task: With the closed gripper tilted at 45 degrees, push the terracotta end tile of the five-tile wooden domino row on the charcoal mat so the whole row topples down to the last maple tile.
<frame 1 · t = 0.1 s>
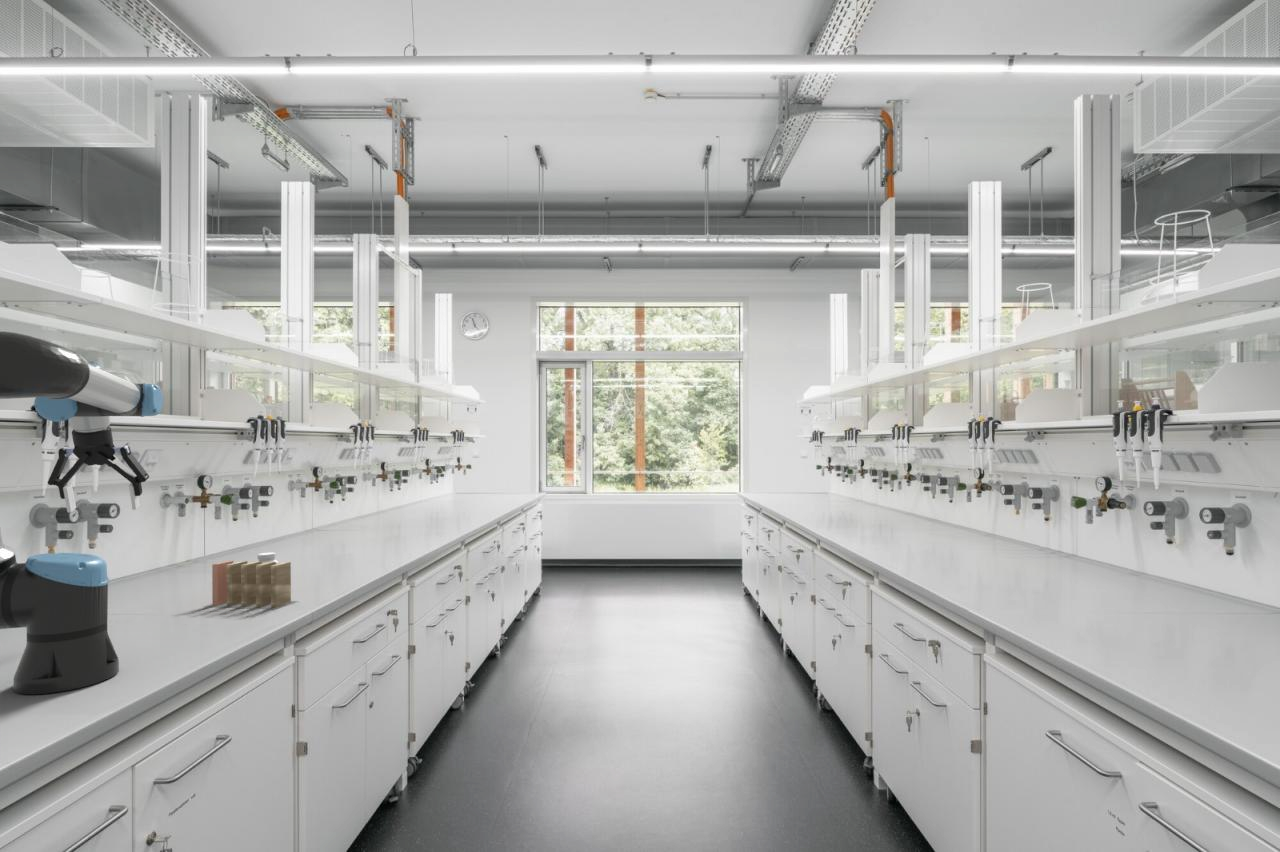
hand: (104, 508, 172), 28 cm above the counter, tool tilted 20°, fingers open, 13 cm apart
domino 3: (251, 603, 186), resting on mat
domino 4: (266, 604, 185), resting on mat
domino 1: (223, 602, 188), resting on mat
pill bottle: (267, 591, 204), on the counter
domino 5: (281, 605, 184), resting on mat
domino 2: (237, 603, 187), resting on mat
mat: (251, 605, 186), on the counter
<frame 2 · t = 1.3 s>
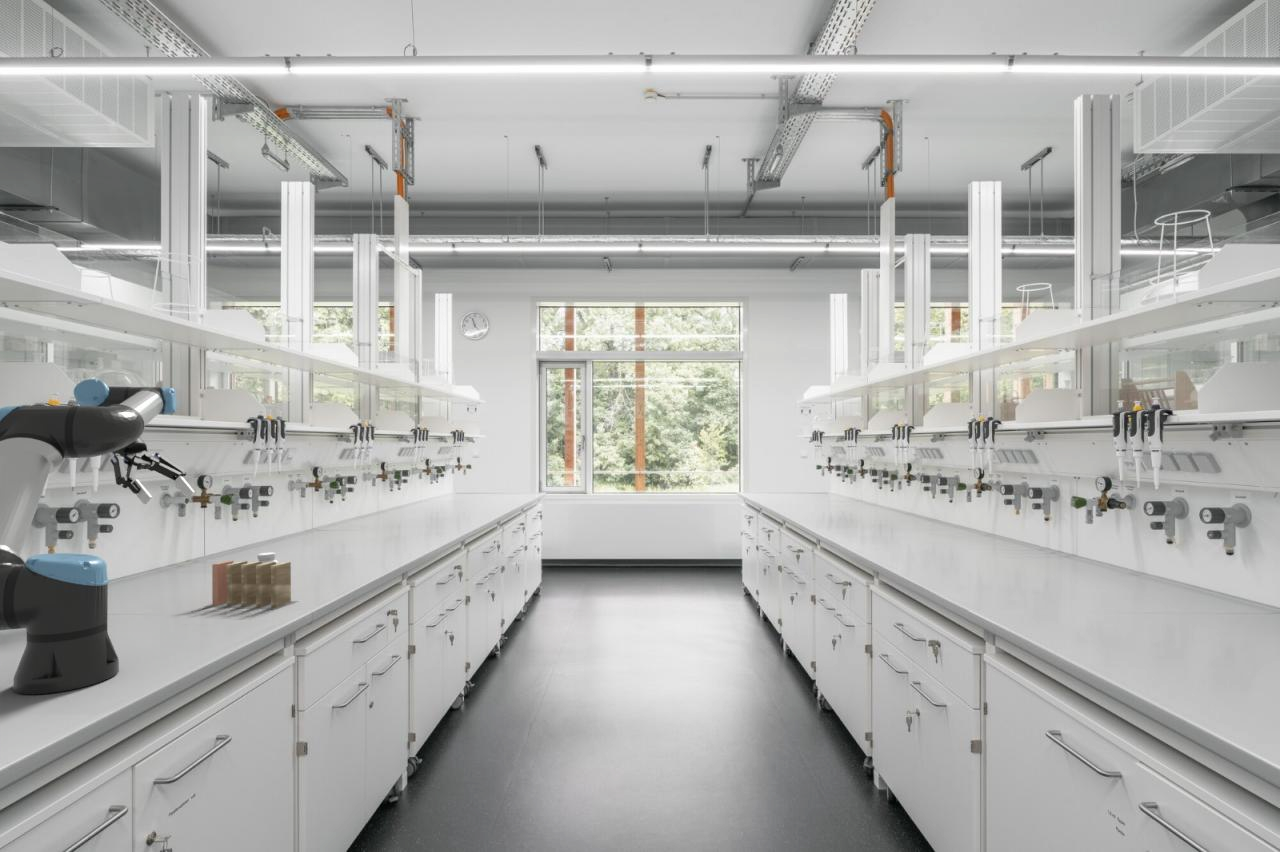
hand: (170, 498, 189), 29 cm above the counter, tool tilted 45°, fingers open, 13 cm apart
nothing on the counter moved.
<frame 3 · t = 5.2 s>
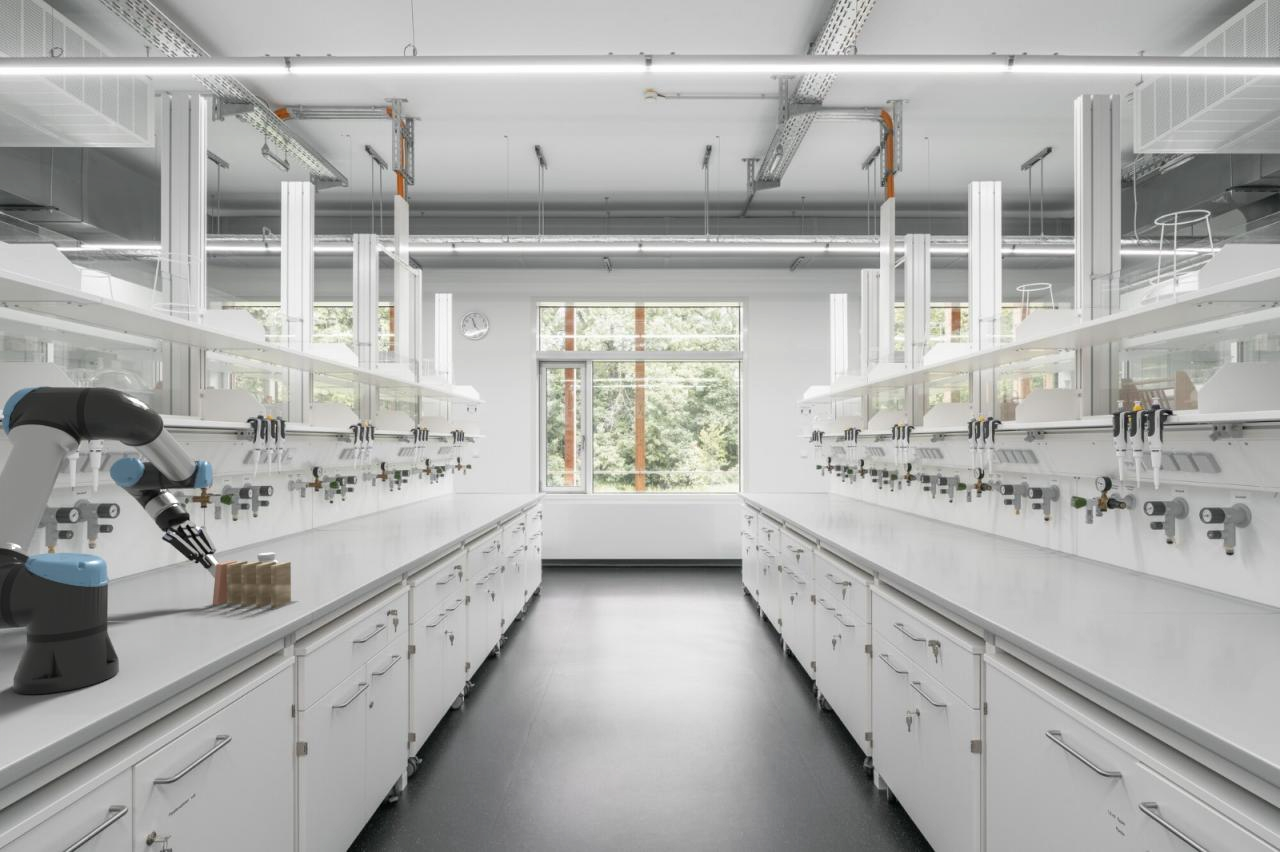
hand: (220, 574, 188), 8 cm above the counter, tool tilted 45°, fingers closed
domino 1: (223, 602, 188), resting on mat, tilted 7°
everything else where it was.
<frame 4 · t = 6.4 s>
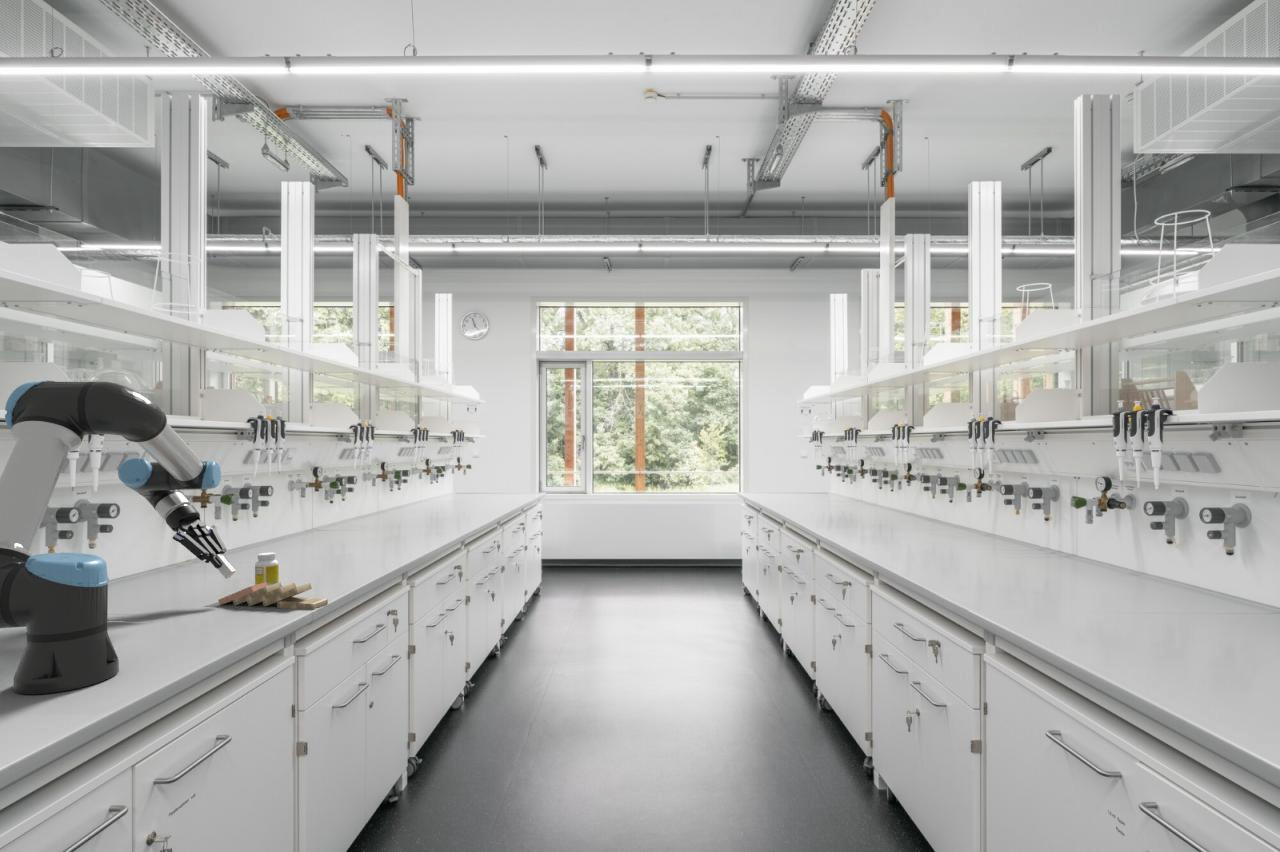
hand: (230, 574, 187), 8 cm above the counter, tool tilted 45°, fingers closed
domino 3: (255, 601, 186), point 1 cm above the counter, tilted 69°, touching domino 2, domino 4, mat
domino 4: (270, 601, 185), point 1 cm above the counter, tilted 69°, touching domino 3, domino 5
domino 1: (227, 600, 188), point 1 cm above the counter, tilted 69°, touching domino 2, mat
domino 5: (284, 602, 184), point 1 cm above the counter, tilted 92°, touching domino 4, mat
domino 2: (241, 600, 187), point 1 cm above the counter, tilted 69°, touching domino 1, domino 3
everything else where it was.
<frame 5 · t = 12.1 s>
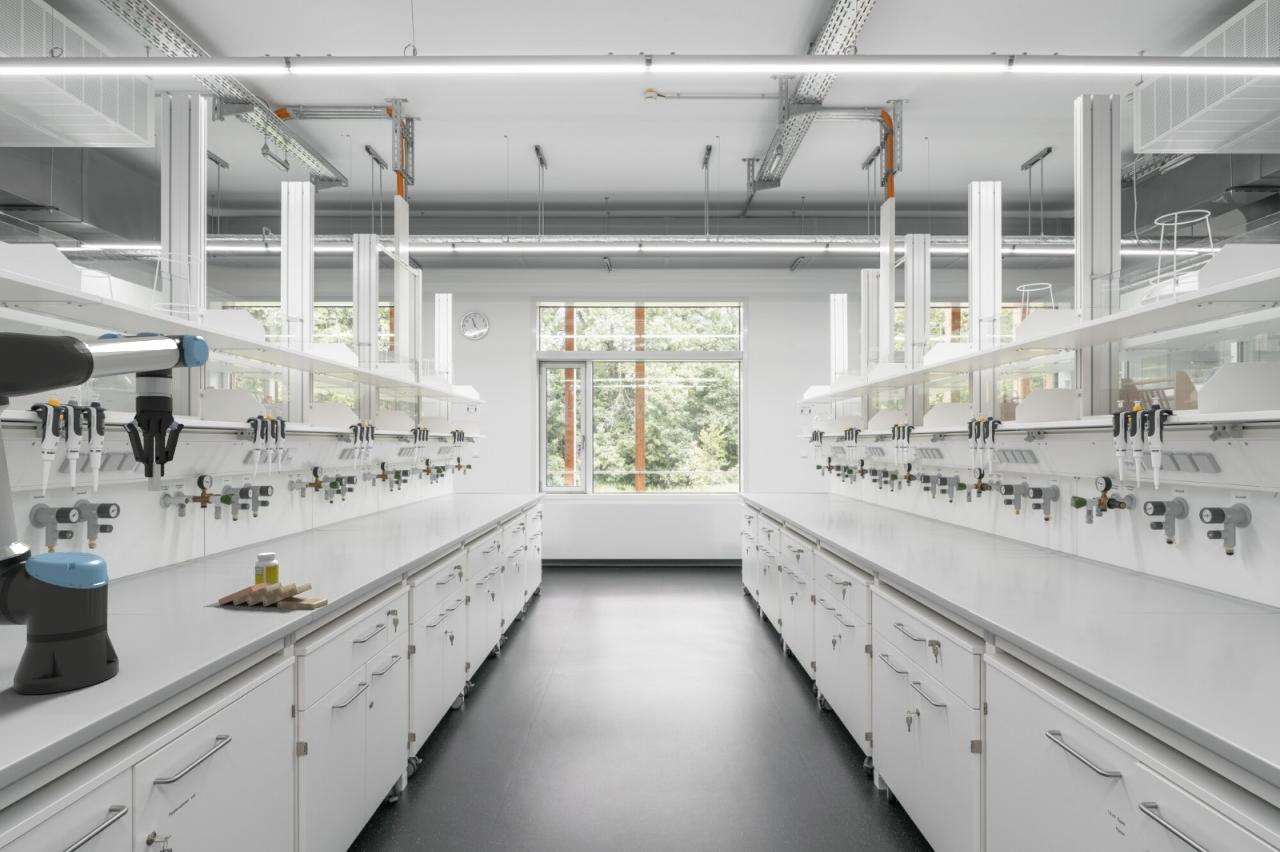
hand: (154, 490, 171), 32 cm above the counter, tool pointing down, fingers closed
nothing on the counter moved.
at the end: domino 5 tilted 92°; domino 3 tilted 69° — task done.
